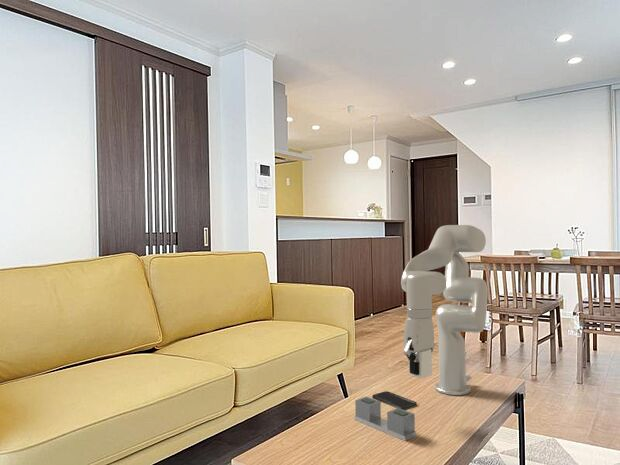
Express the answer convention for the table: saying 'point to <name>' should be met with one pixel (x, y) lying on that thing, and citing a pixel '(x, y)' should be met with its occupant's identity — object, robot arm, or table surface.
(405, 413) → the rail
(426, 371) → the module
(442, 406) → the table surface
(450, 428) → the table surface
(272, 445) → the table surface
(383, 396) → the phone
